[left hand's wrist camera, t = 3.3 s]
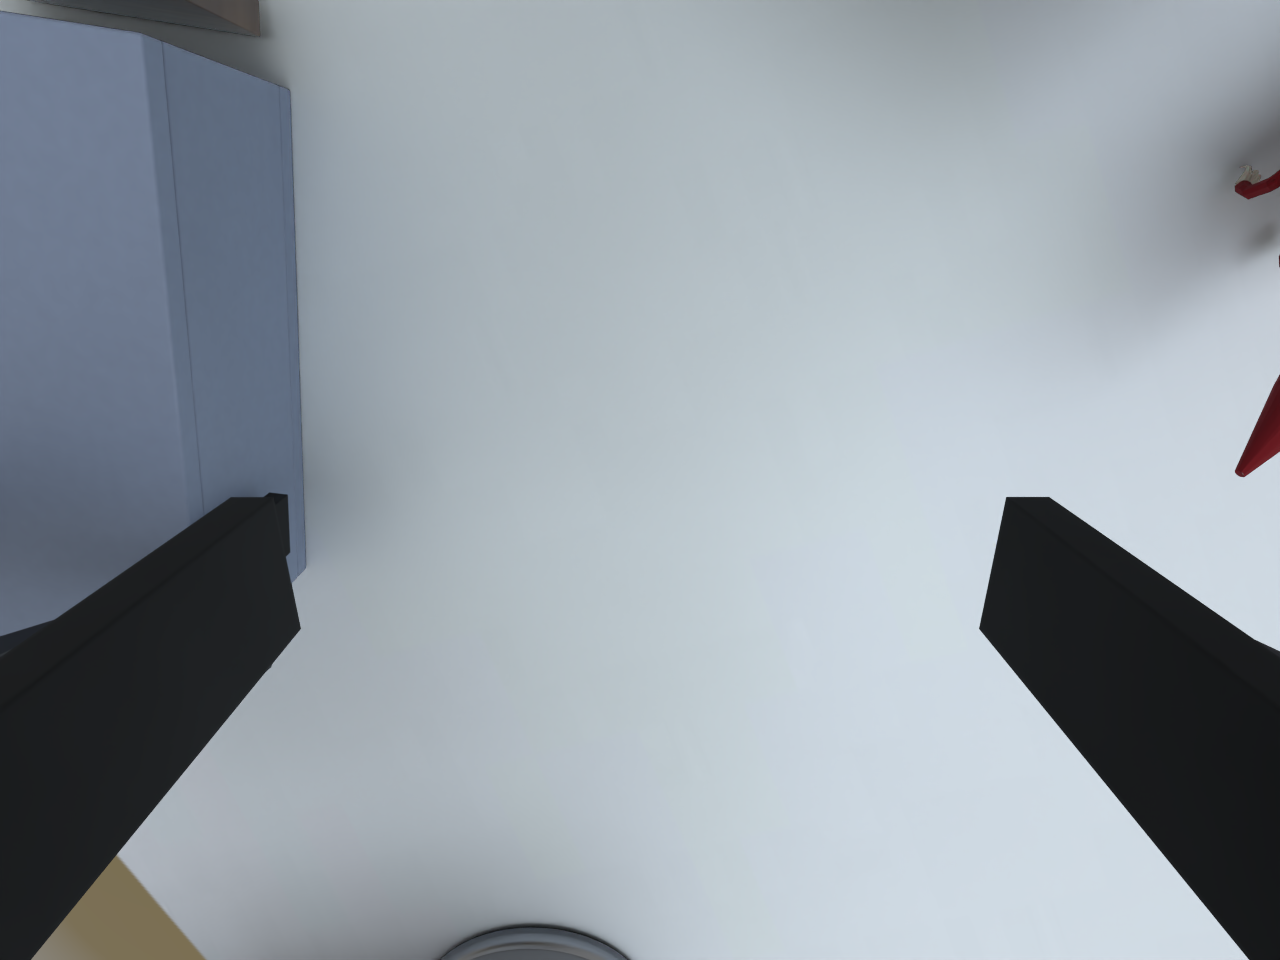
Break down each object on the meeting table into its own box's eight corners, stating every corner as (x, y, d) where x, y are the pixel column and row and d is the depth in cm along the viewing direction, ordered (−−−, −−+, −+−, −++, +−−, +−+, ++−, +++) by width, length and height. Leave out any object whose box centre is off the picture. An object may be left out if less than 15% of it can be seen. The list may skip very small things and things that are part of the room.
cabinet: (17, 47, 27) (-260, -31, 18) (290, 89, 27) (141, 32, 19) (93, 543, 34) (-81, 646, 26) (306, 568, 35) (204, 677, 26)
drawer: (-30, -237, 23) (-291, -417, 17) (250, -188, 24) (105, -343, 17) (79, 477, 32) (-62, 543, 25) (282, 502, 32) (194, 572, 26)
